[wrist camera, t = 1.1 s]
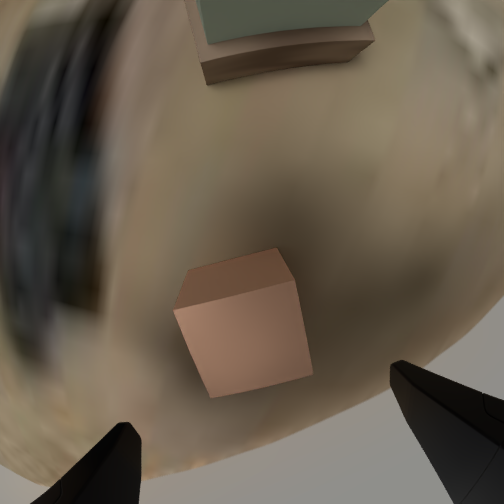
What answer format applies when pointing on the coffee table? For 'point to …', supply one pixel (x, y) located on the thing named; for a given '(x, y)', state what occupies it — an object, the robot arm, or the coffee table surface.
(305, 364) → the terracotta cube
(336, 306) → the coffee table surface
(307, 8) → the sage top block
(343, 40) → the walnut base block
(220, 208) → the coffee table surface
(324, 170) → the coffee table surface
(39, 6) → the coffee table surface
